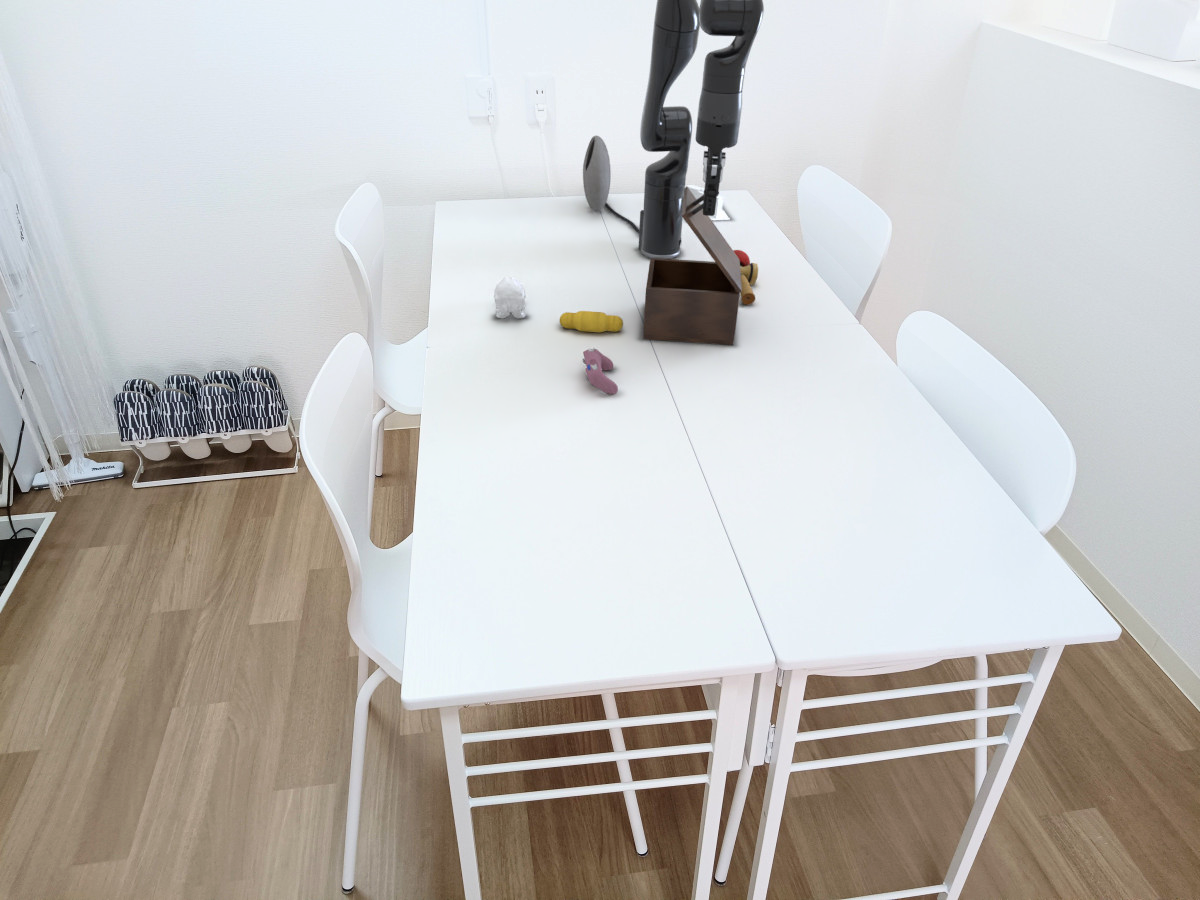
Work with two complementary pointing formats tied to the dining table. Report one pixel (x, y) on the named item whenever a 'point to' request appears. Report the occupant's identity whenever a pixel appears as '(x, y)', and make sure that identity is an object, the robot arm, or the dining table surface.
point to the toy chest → (689, 302)
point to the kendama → (747, 277)
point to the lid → (711, 238)
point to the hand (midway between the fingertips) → (708, 208)
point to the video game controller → (599, 370)
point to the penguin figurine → (510, 298)
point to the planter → (596, 174)
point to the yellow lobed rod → (591, 321)
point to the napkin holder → (719, 203)
